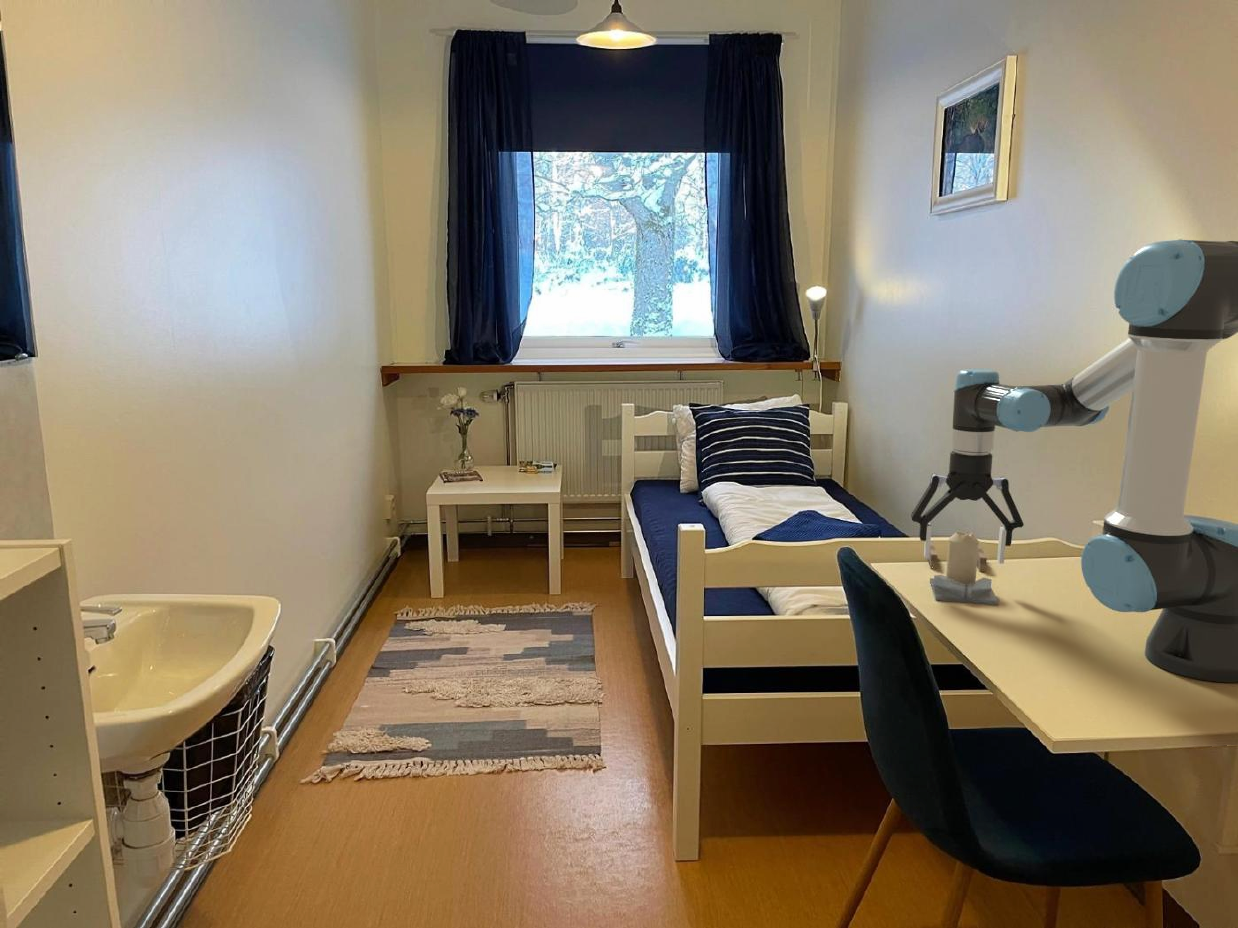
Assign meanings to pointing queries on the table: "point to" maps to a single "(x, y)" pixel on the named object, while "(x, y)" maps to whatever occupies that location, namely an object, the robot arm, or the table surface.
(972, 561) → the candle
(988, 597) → the v block
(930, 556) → the channel
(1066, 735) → the table surface
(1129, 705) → the table surface
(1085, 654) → the table surface
